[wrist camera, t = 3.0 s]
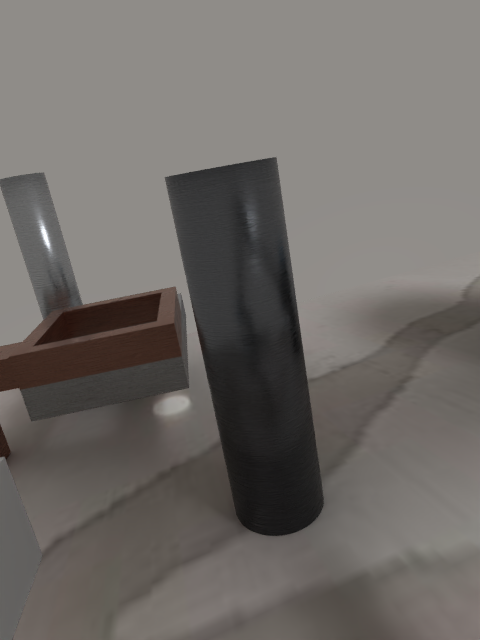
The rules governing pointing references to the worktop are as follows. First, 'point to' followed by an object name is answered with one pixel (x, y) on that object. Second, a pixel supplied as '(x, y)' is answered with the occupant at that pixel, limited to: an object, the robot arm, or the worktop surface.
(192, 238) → the pin
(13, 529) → the robot arm
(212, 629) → the worktop surface
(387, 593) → the worktop surface
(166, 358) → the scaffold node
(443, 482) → the worktop surface
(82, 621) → the worktop surface
